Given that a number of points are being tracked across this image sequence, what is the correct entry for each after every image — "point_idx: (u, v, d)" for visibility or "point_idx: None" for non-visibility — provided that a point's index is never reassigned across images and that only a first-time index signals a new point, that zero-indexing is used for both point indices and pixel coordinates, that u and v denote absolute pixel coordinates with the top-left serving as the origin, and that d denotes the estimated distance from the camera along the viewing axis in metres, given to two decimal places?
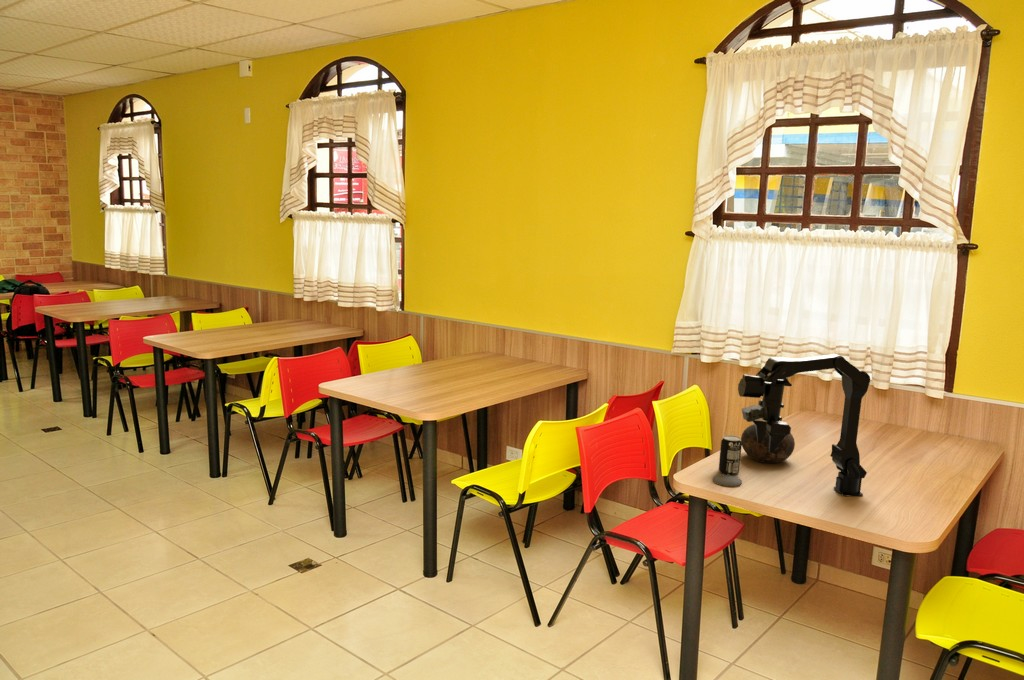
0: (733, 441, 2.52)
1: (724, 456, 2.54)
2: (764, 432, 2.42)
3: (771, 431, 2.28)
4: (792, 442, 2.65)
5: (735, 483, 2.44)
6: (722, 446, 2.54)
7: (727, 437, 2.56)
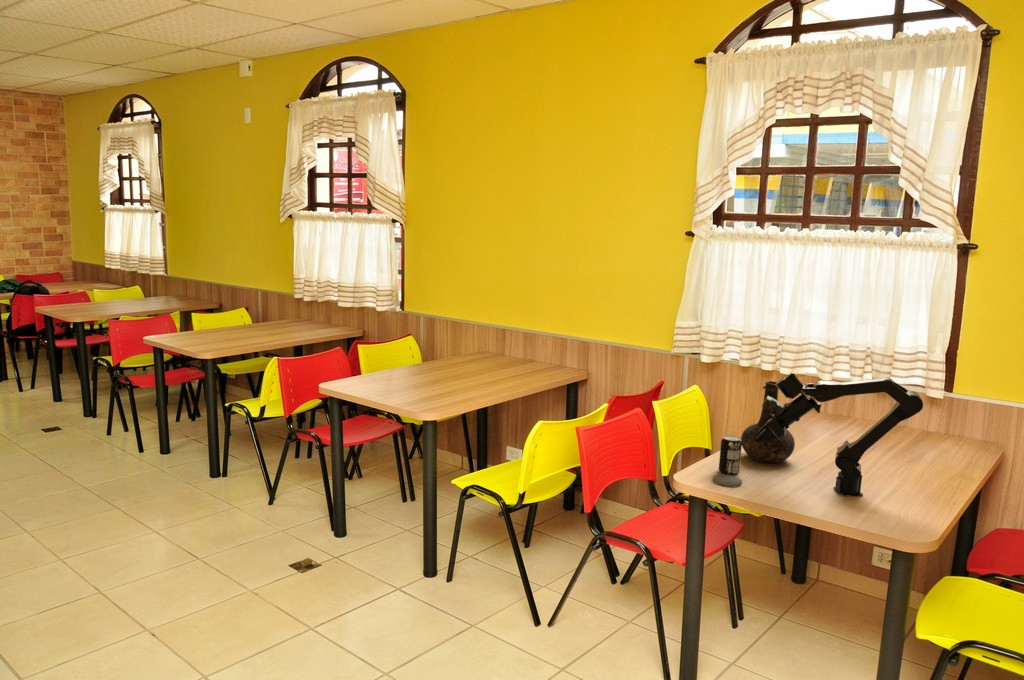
0: (733, 441, 2.52)
1: (724, 456, 2.54)
2: None
3: (767, 423, 2.40)
4: (792, 442, 2.65)
5: (735, 483, 2.44)
6: (722, 446, 2.54)
7: (727, 437, 2.56)
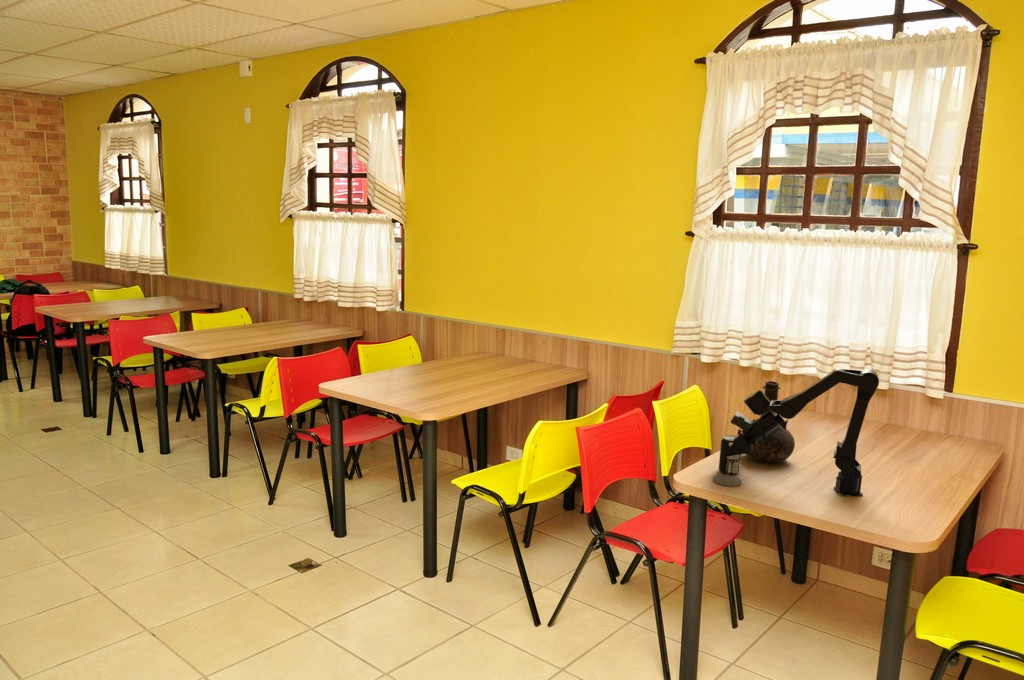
0: (733, 441, 2.52)
1: (724, 456, 2.54)
2: None
3: (735, 439, 2.45)
4: (792, 442, 2.65)
5: (735, 483, 2.44)
6: (722, 446, 2.54)
7: (727, 437, 2.56)
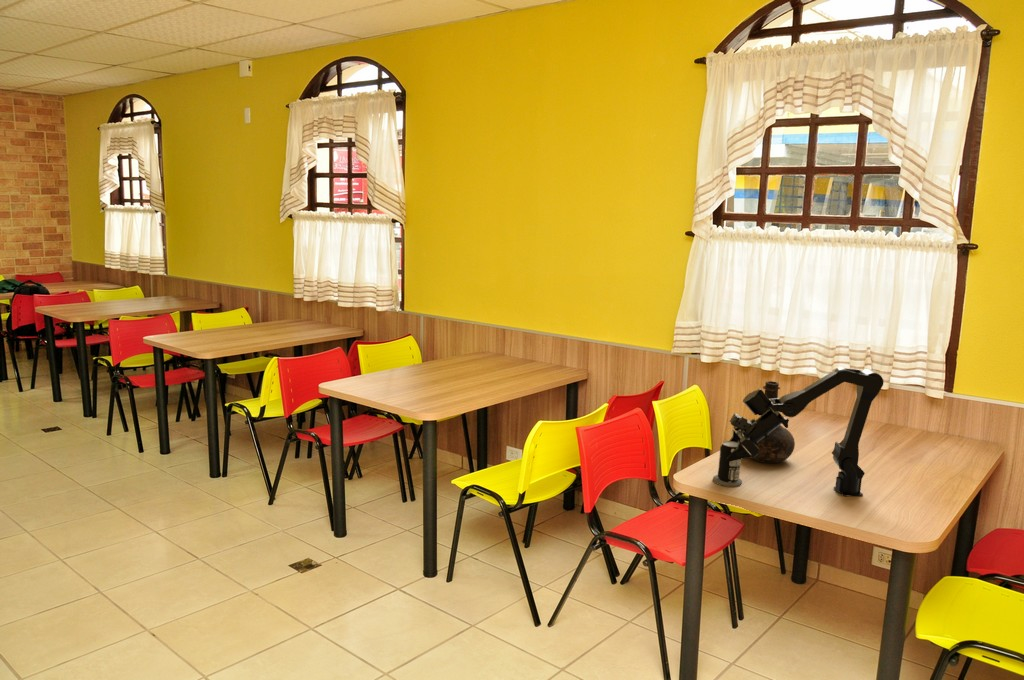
0: (735, 447, 2.43)
1: (726, 463, 2.44)
2: None
3: (742, 442, 2.36)
4: (792, 442, 2.65)
5: (735, 483, 2.44)
6: (723, 453, 2.44)
7: (726, 443, 2.46)
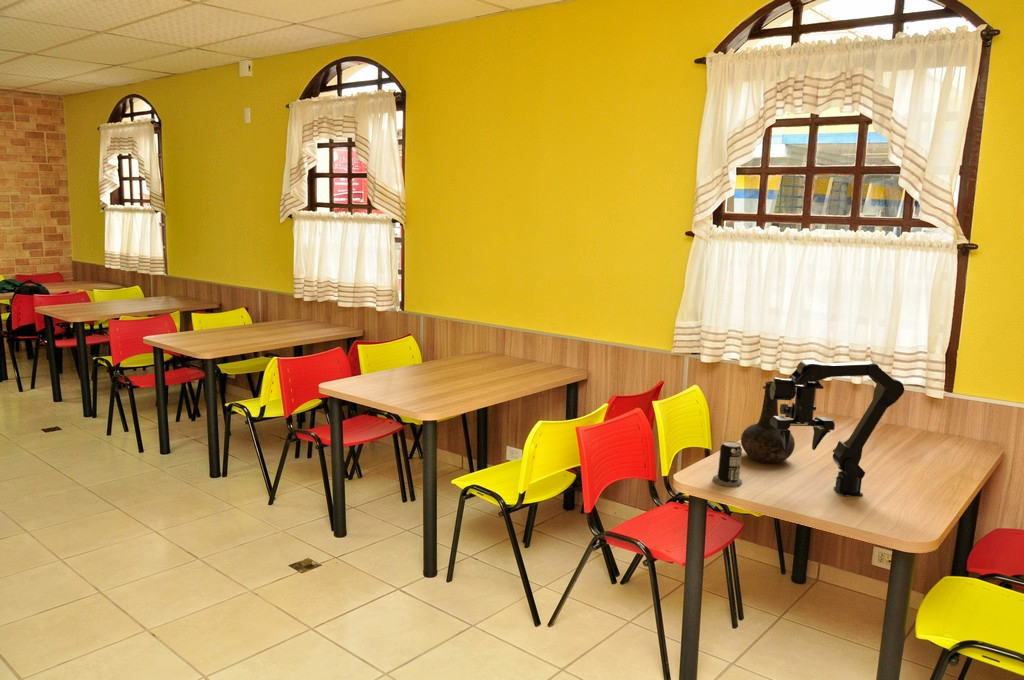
0: (735, 447, 2.43)
1: (726, 463, 2.44)
2: (816, 439, 2.40)
3: None
4: (792, 442, 2.65)
5: (735, 483, 2.44)
6: (723, 453, 2.44)
7: (726, 443, 2.46)
